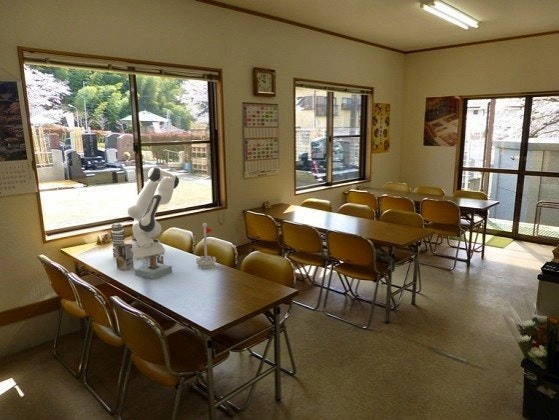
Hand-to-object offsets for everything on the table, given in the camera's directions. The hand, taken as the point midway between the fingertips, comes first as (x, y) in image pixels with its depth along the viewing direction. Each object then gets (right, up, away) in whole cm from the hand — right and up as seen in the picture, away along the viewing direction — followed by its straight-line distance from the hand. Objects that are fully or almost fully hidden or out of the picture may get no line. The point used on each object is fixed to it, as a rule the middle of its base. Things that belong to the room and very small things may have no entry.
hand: (153, 262), depth 257 cm
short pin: (0, -4, +16) cm, 17 cm away
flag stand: (+31, -5, +15) cm, 35 cm away
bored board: (0, -7, +2) cm, 7 cm away
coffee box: (-23, -5, +13) cm, 27 cm away
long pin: (0, -7, +2) cm, 7 cm away
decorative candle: (-36, -1, +35) cm, 50 cm away
